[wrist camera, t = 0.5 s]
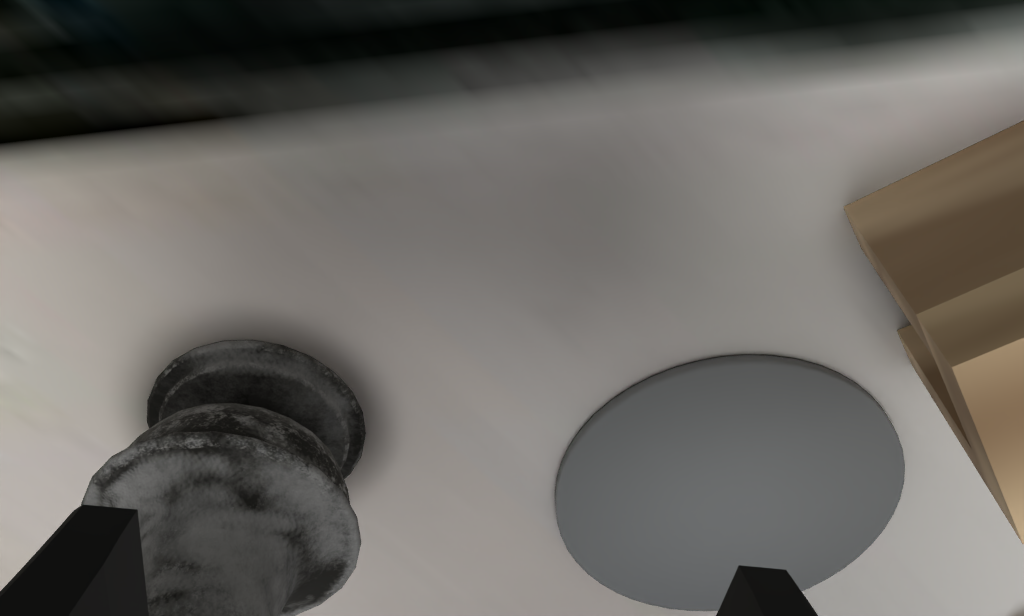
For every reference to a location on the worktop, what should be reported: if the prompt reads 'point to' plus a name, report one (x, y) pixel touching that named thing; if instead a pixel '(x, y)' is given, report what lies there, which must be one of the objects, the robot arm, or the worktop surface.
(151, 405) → the dark grey stone ornament
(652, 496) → the pad
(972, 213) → the slotted wooden block
